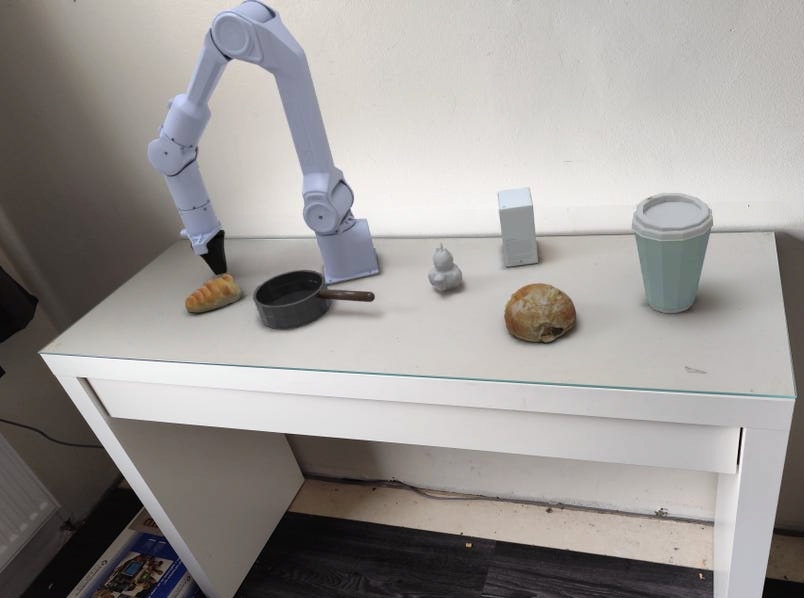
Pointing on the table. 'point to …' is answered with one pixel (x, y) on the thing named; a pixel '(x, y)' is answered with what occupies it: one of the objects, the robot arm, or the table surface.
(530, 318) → the bread roll
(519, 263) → the small box
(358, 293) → the pan handle
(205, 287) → the pastry
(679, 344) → the table surface
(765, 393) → the table surface
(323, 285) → the pan
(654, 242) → the disposable coffee cup
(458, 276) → the grey figurine
